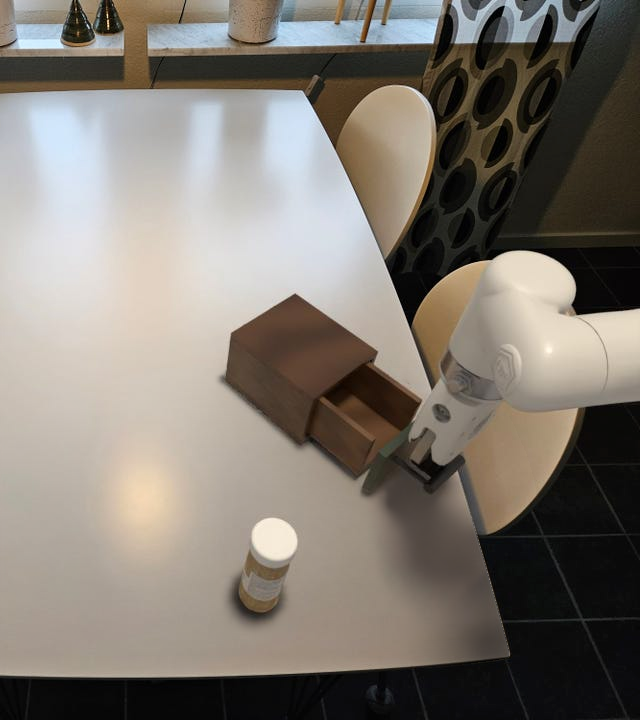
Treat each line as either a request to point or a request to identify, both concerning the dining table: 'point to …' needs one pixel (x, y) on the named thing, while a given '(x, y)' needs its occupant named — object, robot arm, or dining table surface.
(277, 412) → the cabinet
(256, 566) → the sprinkles bottle
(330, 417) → the drawer
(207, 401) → the dining table surface
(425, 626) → the dining table surface
